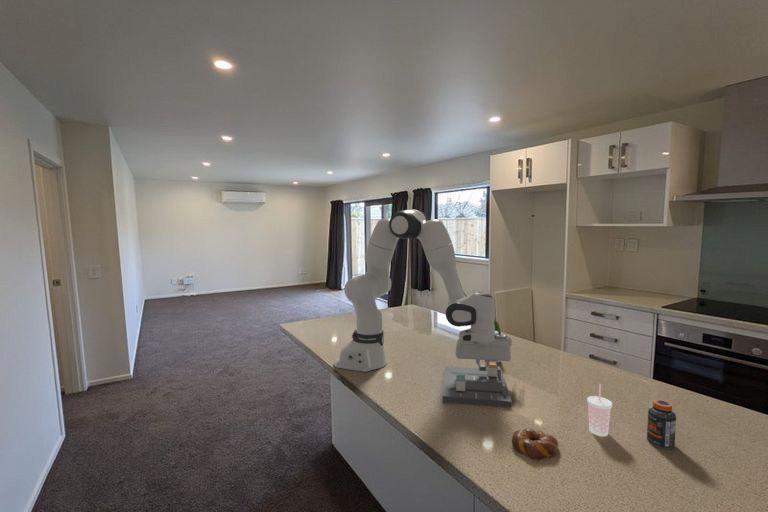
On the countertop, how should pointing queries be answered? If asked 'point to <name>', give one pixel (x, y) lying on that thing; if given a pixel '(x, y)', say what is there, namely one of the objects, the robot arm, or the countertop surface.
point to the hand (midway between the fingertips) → (482, 370)
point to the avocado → (497, 327)
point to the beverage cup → (599, 414)
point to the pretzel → (534, 444)
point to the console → (476, 387)
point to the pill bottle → (661, 425)
